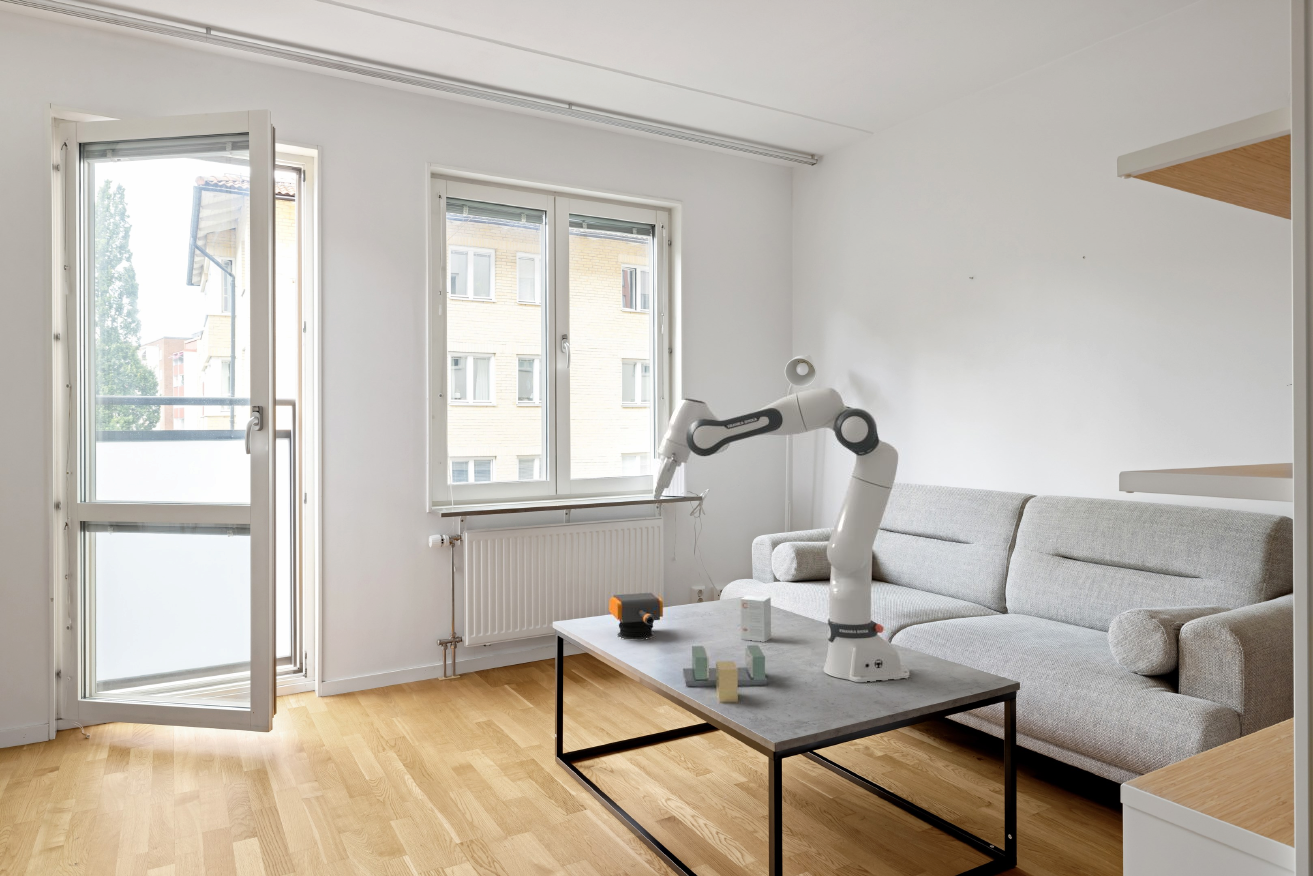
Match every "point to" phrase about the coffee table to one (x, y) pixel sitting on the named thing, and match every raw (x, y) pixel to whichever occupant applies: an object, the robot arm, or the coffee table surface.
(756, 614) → the small box
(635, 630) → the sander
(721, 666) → the brass block
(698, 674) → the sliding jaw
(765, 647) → the coffee table surface
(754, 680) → the vise
